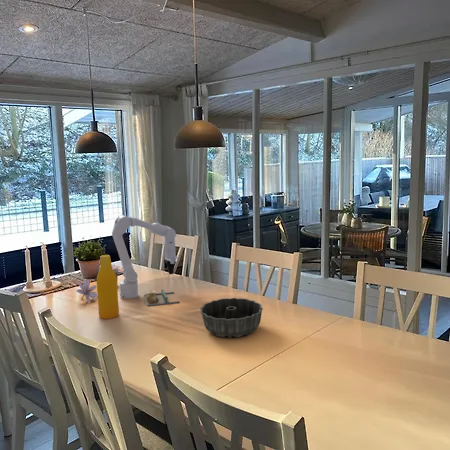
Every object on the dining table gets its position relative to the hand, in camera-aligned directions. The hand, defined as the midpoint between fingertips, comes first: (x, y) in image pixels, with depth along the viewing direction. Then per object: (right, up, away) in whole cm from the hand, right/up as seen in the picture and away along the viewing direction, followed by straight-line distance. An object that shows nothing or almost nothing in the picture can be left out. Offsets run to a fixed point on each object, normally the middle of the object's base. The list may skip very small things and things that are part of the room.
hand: (171, 273), depth 240 cm
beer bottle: (-25, -16, -33) cm, 45 cm away
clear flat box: (-7, -13, -14) cm, 20 cm away
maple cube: (-9, -12, -14) cm, 21 cm away
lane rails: (-3, -13, -13) cm, 18 cm away
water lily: (-42, -13, -9) cm, 45 cm away
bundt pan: (+32, -18, -53) cm, 65 cm away
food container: (-40, -9, +17) cm, 44 cm away
